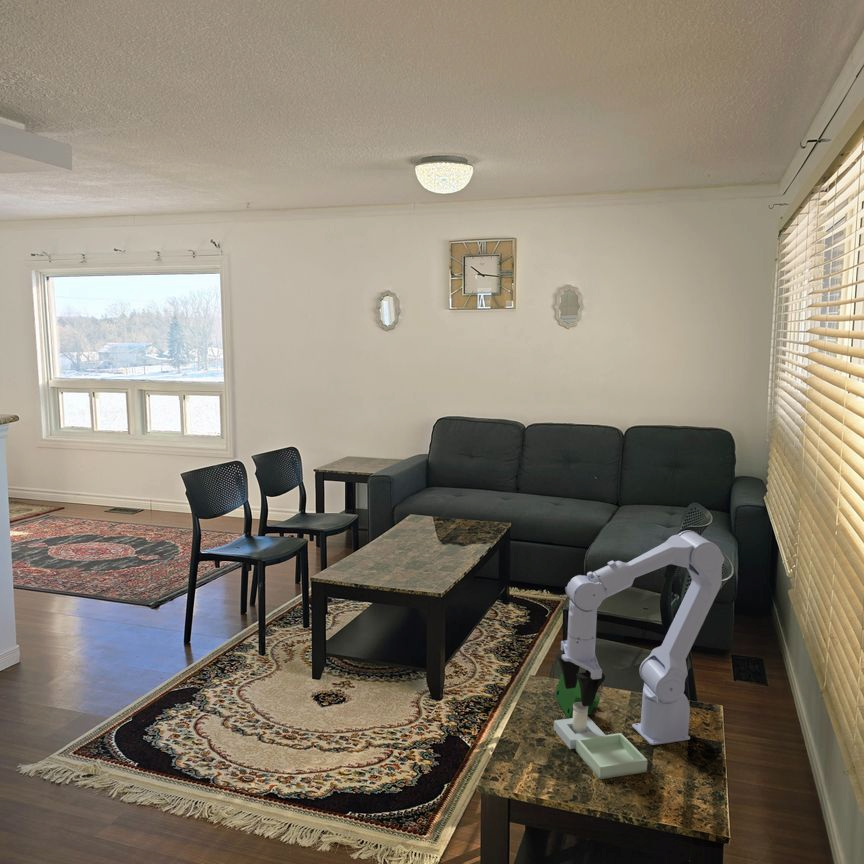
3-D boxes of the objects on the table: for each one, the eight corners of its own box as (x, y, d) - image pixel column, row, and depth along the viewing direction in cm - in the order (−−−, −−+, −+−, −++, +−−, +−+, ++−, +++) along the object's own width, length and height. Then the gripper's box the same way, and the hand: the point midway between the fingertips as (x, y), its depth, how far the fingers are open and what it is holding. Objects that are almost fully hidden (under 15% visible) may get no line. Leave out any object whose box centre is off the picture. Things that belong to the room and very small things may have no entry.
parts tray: (620, 744, 161) (620, 732, 161) (646, 771, 152) (647, 760, 151) (575, 750, 158) (576, 739, 158) (599, 779, 149) (600, 767, 148)
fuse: (582, 732, 166) (583, 701, 165) (589, 739, 163) (590, 708, 162) (568, 733, 165) (570, 702, 164) (575, 741, 162) (577, 710, 161)
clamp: (586, 734, 173) (602, 708, 168) (561, 730, 172) (577, 703, 167) (577, 691, 183) (592, 665, 179) (553, 686, 182) (568, 660, 178)
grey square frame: (587, 724, 169) (587, 716, 168) (605, 744, 161) (605, 735, 161) (553, 729, 166) (553, 720, 166) (570, 749, 159) (570, 740, 159)
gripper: (548, 622, 166) (546, 682, 168) (580, 651, 152) (577, 715, 154) (578, 619, 168) (576, 678, 170) (612, 647, 154) (609, 711, 156)
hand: (578, 696), depth 162 cm, fingers open, 7 cm apart
